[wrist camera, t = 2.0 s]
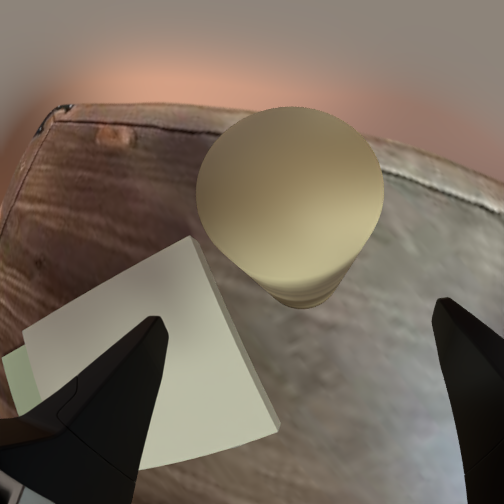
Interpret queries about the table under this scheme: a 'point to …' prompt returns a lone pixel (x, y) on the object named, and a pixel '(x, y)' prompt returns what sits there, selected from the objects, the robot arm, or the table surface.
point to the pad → (21, 380)
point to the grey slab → (177, 357)
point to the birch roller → (291, 200)
